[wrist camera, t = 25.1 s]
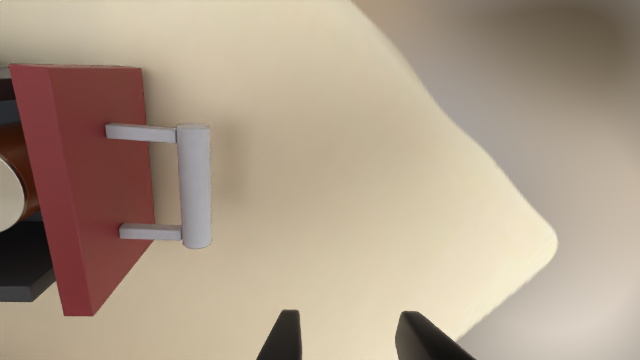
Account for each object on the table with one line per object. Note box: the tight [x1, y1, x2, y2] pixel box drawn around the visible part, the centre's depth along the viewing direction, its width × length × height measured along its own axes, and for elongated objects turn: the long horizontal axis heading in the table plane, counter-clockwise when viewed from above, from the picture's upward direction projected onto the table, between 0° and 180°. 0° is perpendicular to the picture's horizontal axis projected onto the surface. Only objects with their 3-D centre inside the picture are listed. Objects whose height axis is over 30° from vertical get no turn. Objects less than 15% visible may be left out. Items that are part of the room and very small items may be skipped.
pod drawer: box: [0, 64, 212, 316], centre depth 14 cm, size 17×10×7 cm, turn 84°
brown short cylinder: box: [0, 121, 41, 232], centre depth 14 cm, size 4×4×4 cm
